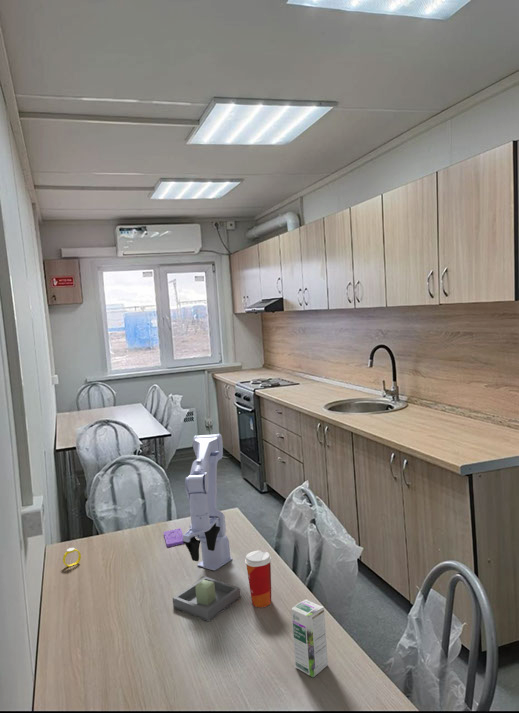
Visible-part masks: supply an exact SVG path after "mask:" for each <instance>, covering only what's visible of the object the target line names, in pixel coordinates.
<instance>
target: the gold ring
mask: <svg viewBox="0 0 519 713" xmlns="http://www.w3.org/2000/svg"><path fill="white" fill-rule="evenodd" d="M74 552H77V554H78V557H77V560H76V561H75V562H74V563H73V562H72V563H71V564H67V563H66V558H67V556H68V555H69V554H71V553H74ZM81 558H82V554H81V551H79V550H78V549H76V548H75V547H69V548H67V549H66V552H64V553H63V557H62V562H63V564H64V565H65V566H66V567H68V568H70V566H71V567H74V566H76V565H78V564H79V563H80V562H81ZM73 565H74V566H73Z"/></svg>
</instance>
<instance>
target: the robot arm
mask: <svg viewBox="0 0 519 713" xmlns="http://www.w3.org/2000/svg"><path fill="white" fill-rule="evenodd" d="M223 442H224V440H223V436H222V434H221V433H216V434H214V433H213V434H202V435H199V434H198V435H197V434H195V435H194V436H193V438H192V447H193V451H194V454H195V457H196V459H195V460H194V461H192V464H191V468H190V472H189V475H188V476H186V477H185V482H184V483H185V484H184V485H185V494H186V496H187V500H188V503H189V504H188V505H189V514H190V525H189V529H188V530H187V531H186V532H185V533H184V534H183V543H184V544H183V545H185V547H186V548H187V550H188V552H189V555H190V557H191V560H192V561H194V562H199V560H200V549H201V557H202V560H201V561H200V562H199V563H197V566H198V567H201V568H204V569H207V570H210V571H213V572H214V571H216V570H218V569H220V568H221V567H223V566H224V565H226V564H227V563H229V562H230V561H232V560H233V557H231V549H230V540H229V537H228V536H227V535H226V530H227V527H226V516H225V514H224V512H222V511H221V510H219V509H218V508H217V507H218V506H217V504H218V502H217V501H218V498H217V497H218V494H217V493H218V492H217V491H218V490H217V489H218V487H217V486H218V484H217V483H218V480H217V478H218V477H217V476H218V475H217V474H218V469H217V468H218V462H219V461H220V460H221V459H223V455H224V454H223V453H224V449H223V448H224V445H223V444H224V443H223Z"/></svg>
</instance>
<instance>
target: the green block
mask: <svg viewBox="0 0 519 713" xmlns="http://www.w3.org/2000/svg"><path fill="white" fill-rule="evenodd" d="M195 588H196V599H197V603H201V604H205V605H209V604H210V603H211V602H212V601H213V600H214V599H216V595H215V584H214V582H212V581H208V580H202V581H201V582H200V583H198V584H197V585H196V586H195Z"/></svg>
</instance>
